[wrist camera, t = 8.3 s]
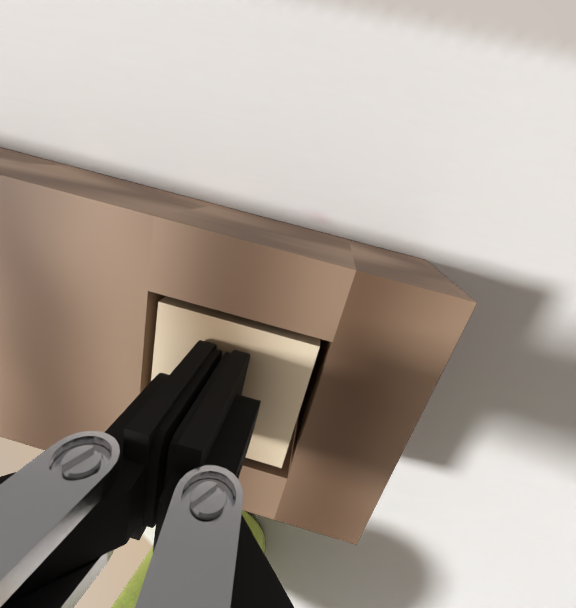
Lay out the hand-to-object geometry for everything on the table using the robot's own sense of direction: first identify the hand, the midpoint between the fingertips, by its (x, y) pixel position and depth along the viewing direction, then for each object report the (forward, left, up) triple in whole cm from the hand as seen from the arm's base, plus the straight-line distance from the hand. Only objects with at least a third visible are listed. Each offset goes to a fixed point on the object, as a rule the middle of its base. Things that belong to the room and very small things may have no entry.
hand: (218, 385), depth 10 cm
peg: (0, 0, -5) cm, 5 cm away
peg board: (+2, +5, -5) cm, 8 cm away
